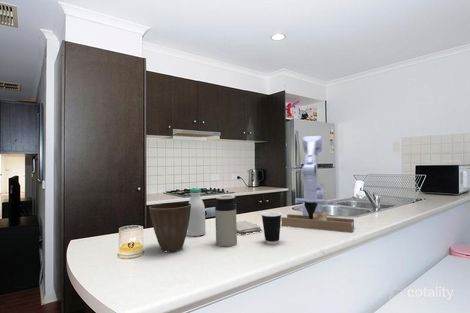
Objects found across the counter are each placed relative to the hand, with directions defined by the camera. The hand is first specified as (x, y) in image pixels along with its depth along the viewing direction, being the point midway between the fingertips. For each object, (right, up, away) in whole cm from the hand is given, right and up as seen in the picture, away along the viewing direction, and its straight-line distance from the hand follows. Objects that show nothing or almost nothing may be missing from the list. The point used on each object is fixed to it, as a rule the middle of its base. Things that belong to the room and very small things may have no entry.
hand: (311, 218), depth 129 cm
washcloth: (-32, -5, -2) cm, 33 cm away
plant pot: (-59, -5, -28) cm, 66 cm away
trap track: (+2, -3, -1) cm, 4 cm away
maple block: (+3, -1, -2) cm, 4 cm away
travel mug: (-39, -4, -24) cm, 46 cm away
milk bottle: (-52, -5, -9) cm, 53 cm away
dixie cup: (-22, -4, -23) cm, 32 cm away
